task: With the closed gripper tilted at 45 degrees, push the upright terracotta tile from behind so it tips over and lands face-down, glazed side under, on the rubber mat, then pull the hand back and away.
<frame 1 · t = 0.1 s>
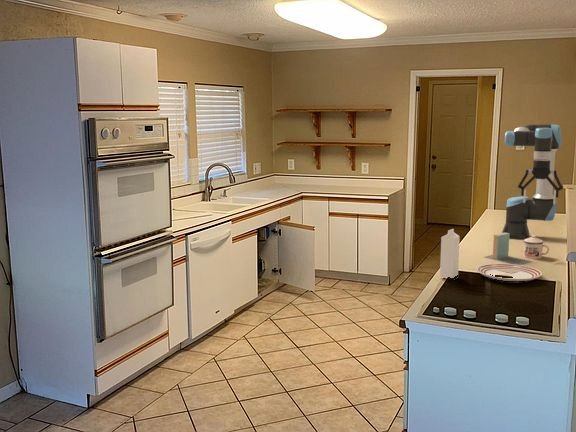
hand: (539, 203, 288), 28 cm above the counter, tool pointing down, fingers open, 13 cm apart
teacup with lid: (535, 258, 293), on the counter
tile: (500, 257, 293), point 1 cm above the counter, touching mat
dinner plate: (508, 277, 263), on the counter
milk: (448, 278, 263), on the counter
mat: (507, 260, 290), on the counter
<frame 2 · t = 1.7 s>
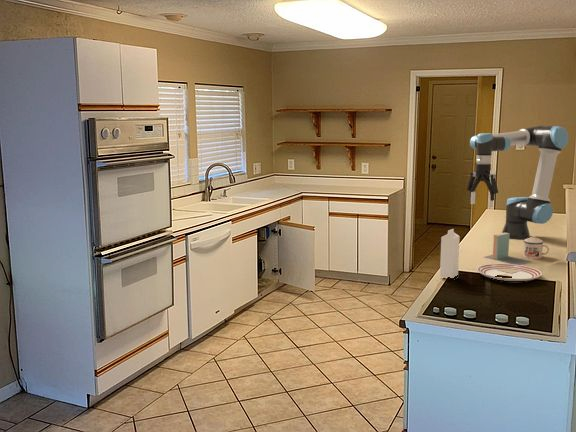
hand: (481, 205, 309), 24 cm above the counter, tool pointing down, fingers open, 10 cm apart
nothing on the counter moved.
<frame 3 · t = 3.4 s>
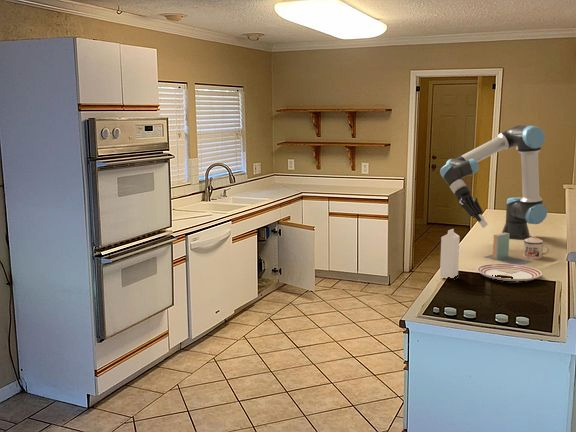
hand: (485, 226, 298), 15 cm above the counter, tool tilted 45°, fingers closed
nothing on the counter moved.
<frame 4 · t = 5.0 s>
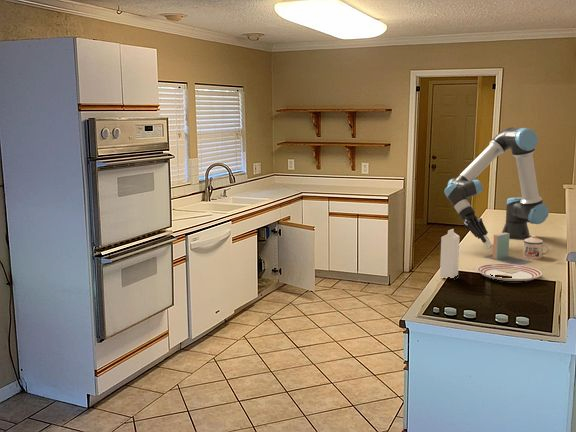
hand: (490, 246, 297), 5 cm above the counter, tool tilted 45°, fingers closed
nothing on the counter moved.
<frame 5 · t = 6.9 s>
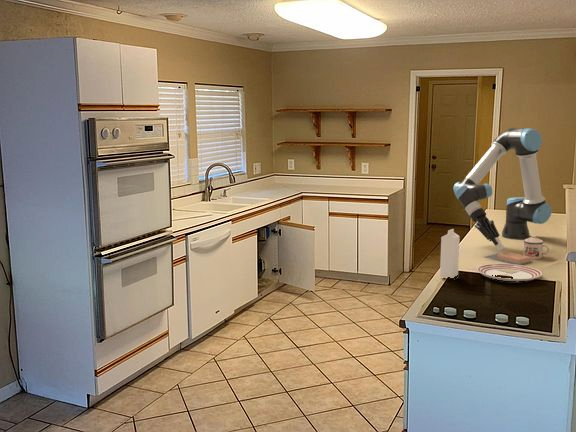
hand: (502, 249, 291), 5 cm above the counter, tool tilted 45°, fingers closed
tile: (503, 255, 291), point 2 cm above the counter, tilted 90°, touching mat
everything else where it was.
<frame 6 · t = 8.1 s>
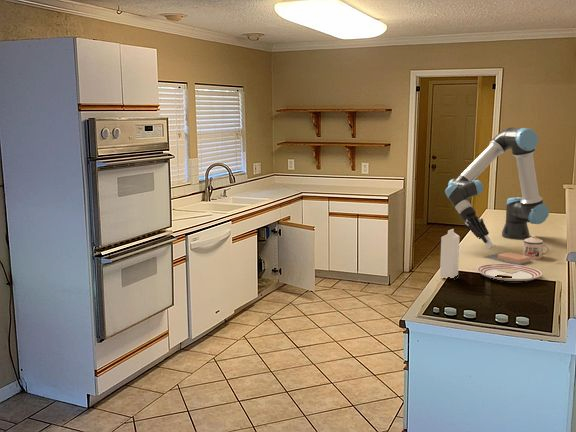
hand: (491, 247, 297), 5 cm above the counter, tool tilted 45°, fingers closed
nothing on the counter moved.
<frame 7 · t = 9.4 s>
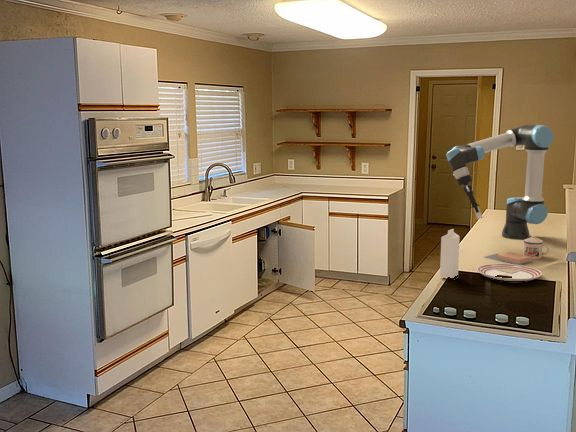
hand: (480, 218, 305), 18 cm above the counter, tool tilted 30°, fingers closed
nothing on the counter moved.
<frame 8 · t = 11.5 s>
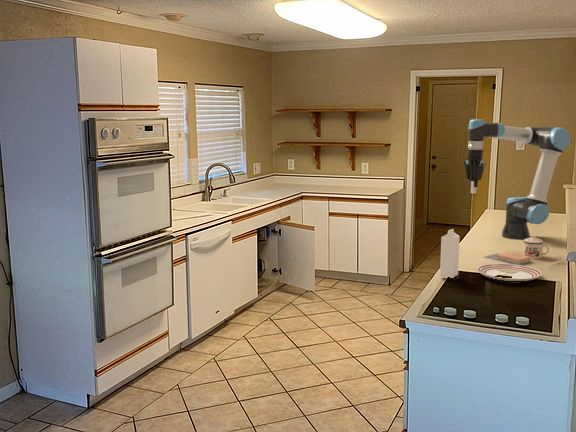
hand: (473, 193, 315), 29 cm above the counter, tool pointing down, fingers closed
nothing on the counter moved.
at the end: tile tilted 90°; tile inside the target area on the mat (0.4 cm from its centre), point 2.0 cm above the mat's base; tile touching mat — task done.
